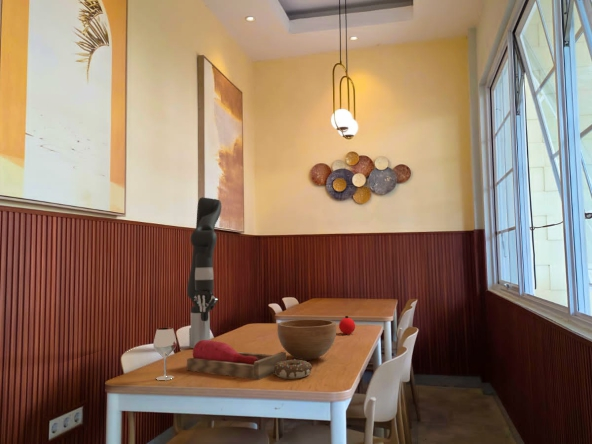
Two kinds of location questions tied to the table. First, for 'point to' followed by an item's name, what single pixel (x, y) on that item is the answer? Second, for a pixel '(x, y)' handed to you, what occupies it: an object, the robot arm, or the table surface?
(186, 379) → the table surface
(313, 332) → the bowl
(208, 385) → the table surface
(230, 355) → the wine bottle
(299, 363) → the donut
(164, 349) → the wineglass
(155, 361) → the table surface
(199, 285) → the robot arm
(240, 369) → the tray
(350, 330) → the ornament
